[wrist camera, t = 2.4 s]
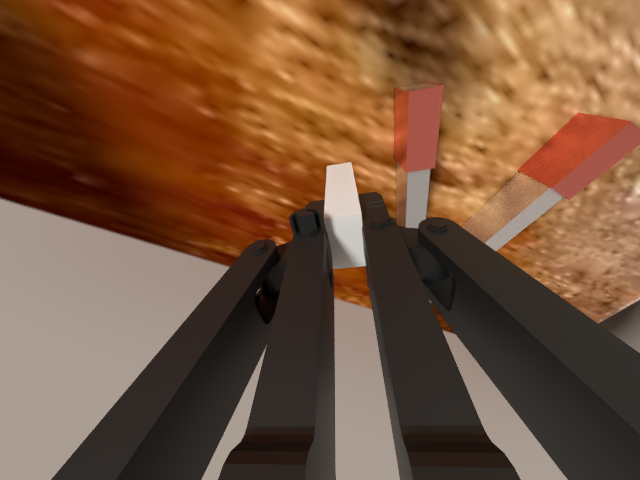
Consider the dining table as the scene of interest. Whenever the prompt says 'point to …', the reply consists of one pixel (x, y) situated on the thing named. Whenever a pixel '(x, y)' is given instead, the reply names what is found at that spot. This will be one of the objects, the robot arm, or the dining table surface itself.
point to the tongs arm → (415, 148)
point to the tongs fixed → (554, 175)
